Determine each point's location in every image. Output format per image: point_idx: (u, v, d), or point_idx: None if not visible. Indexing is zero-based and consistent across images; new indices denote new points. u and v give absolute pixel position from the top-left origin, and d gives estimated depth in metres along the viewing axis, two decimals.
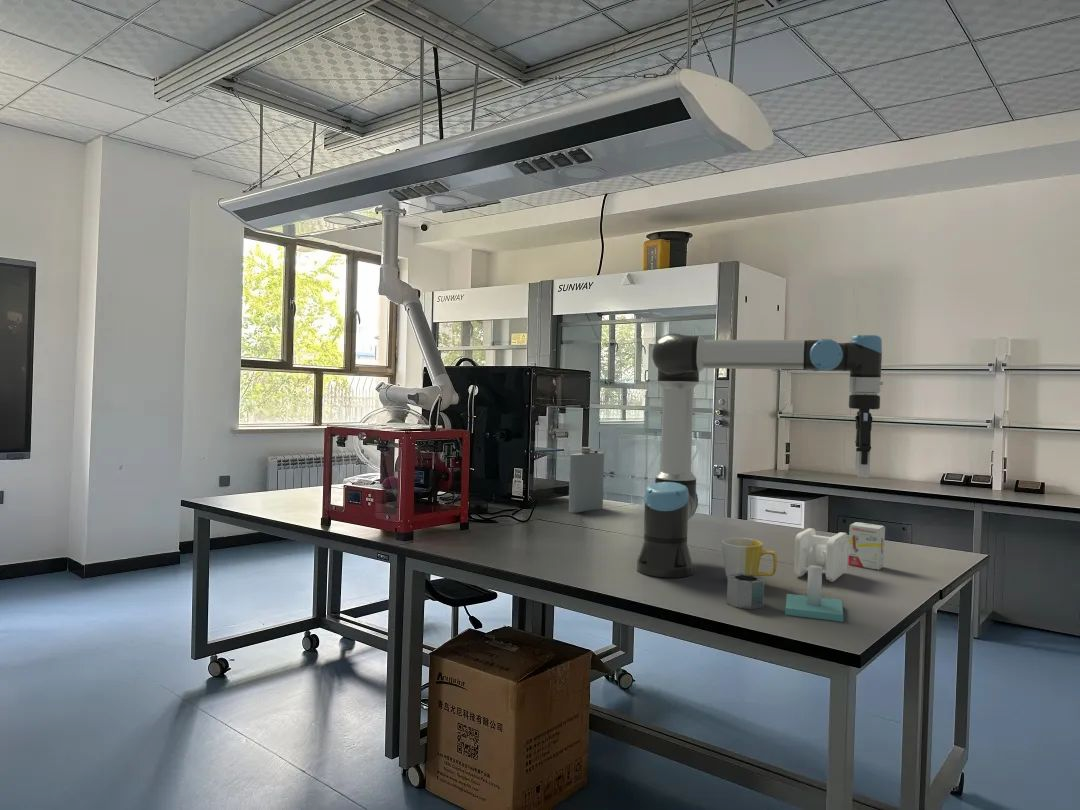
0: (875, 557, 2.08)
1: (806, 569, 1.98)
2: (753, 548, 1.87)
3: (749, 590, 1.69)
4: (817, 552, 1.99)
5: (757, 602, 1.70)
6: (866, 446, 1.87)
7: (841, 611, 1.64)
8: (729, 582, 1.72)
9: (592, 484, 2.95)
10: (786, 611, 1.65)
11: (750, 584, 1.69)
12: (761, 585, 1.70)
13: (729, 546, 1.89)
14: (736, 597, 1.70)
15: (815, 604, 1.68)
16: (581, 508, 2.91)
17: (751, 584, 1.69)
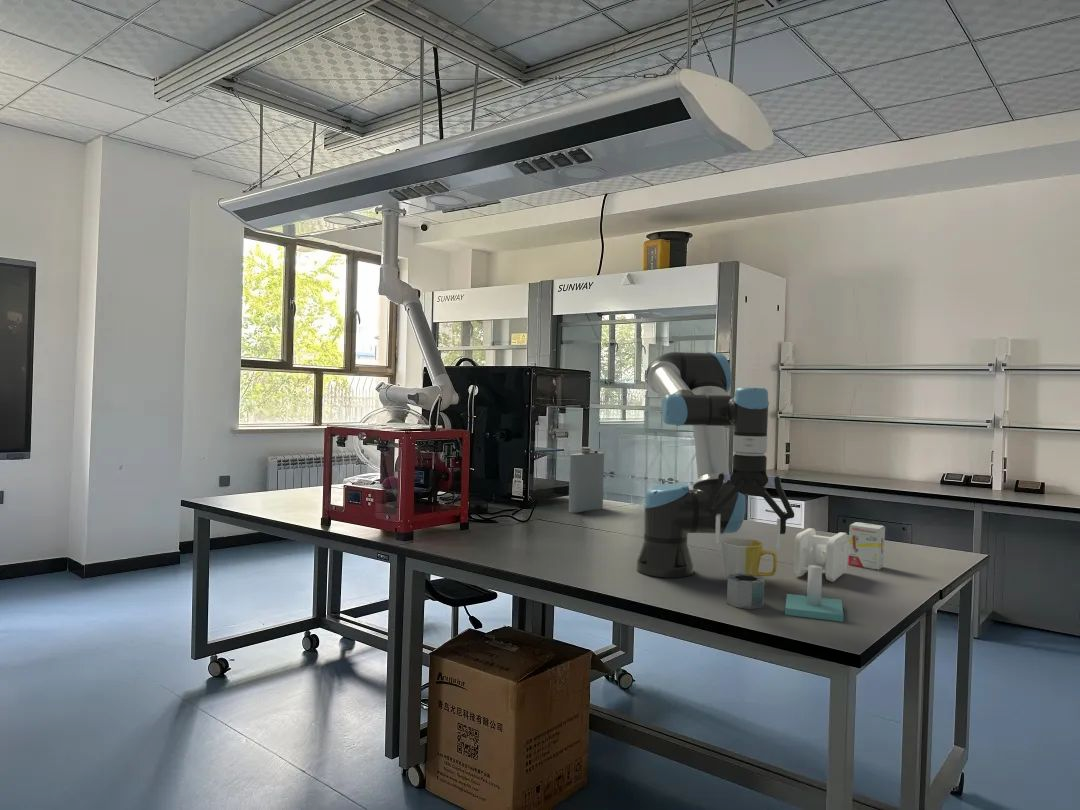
0: (875, 557, 2.08)
1: (806, 569, 1.98)
2: (753, 548, 1.87)
3: (749, 590, 1.69)
4: (817, 552, 1.99)
5: (757, 602, 1.70)
6: None
7: (841, 611, 1.64)
8: (729, 582, 1.72)
9: (592, 484, 2.95)
10: (786, 611, 1.65)
11: (750, 584, 1.69)
12: (761, 585, 1.70)
13: (729, 546, 1.89)
14: (736, 597, 1.70)
15: (815, 604, 1.68)
16: (581, 507, 2.91)
17: (751, 584, 1.69)
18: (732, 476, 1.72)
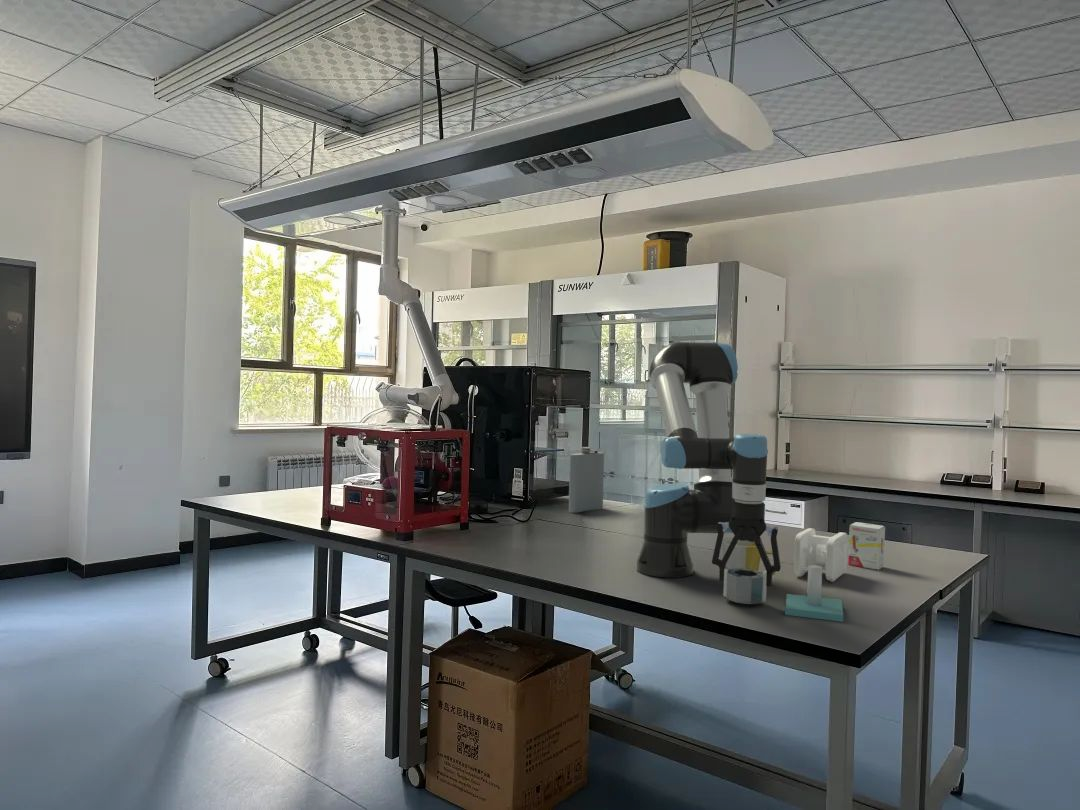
0: (875, 557, 2.08)
1: (806, 569, 1.98)
2: (753, 548, 1.87)
3: (748, 585, 1.69)
4: (817, 552, 1.99)
5: (756, 597, 1.70)
6: None
7: (841, 611, 1.64)
8: (729, 577, 1.73)
9: (592, 484, 2.95)
10: (786, 611, 1.65)
11: (750, 579, 1.69)
12: (760, 580, 1.70)
13: None
14: (735, 592, 1.71)
15: (815, 604, 1.68)
16: (581, 507, 2.91)
17: (751, 579, 1.69)
18: (730, 523, 1.73)
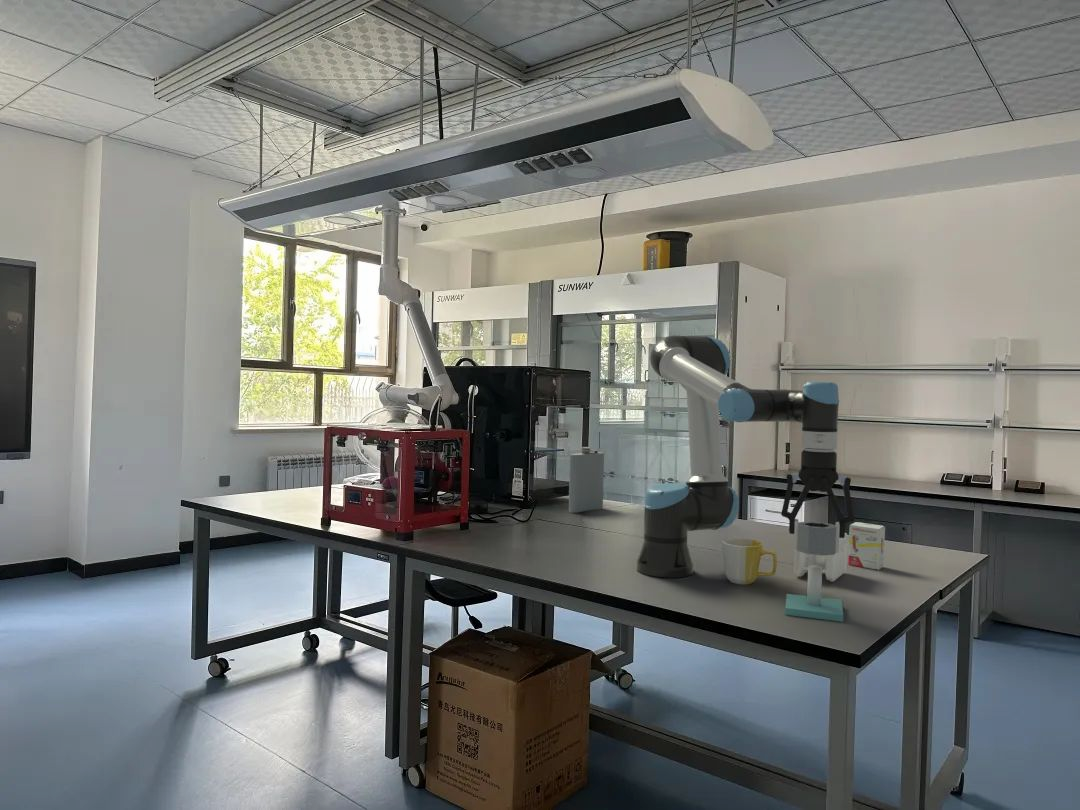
0: (875, 557, 2.08)
1: (806, 569, 1.98)
2: (753, 548, 1.87)
3: (822, 536, 1.64)
4: None
5: (830, 548, 1.65)
6: None
7: (841, 611, 1.64)
8: (800, 529, 1.67)
9: (592, 484, 2.95)
10: (786, 611, 1.65)
11: (823, 529, 1.64)
12: (834, 531, 1.65)
13: (729, 546, 1.89)
14: (808, 543, 1.65)
15: (815, 604, 1.68)
16: (581, 507, 2.91)
17: (824, 530, 1.64)
18: (800, 474, 1.68)
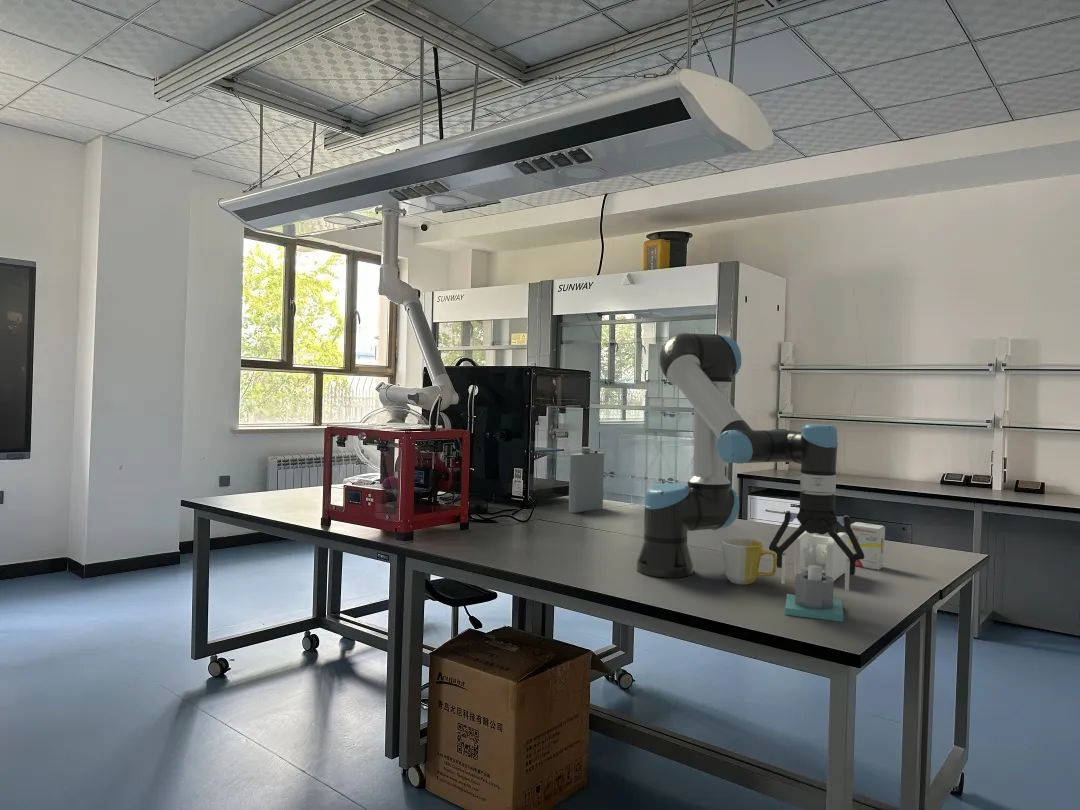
0: (875, 557, 2.08)
1: (806, 569, 1.98)
2: (753, 548, 1.87)
3: (819, 590, 1.65)
4: (817, 552, 1.99)
5: (827, 602, 1.65)
6: None
7: (841, 611, 1.64)
8: (797, 582, 1.68)
9: (592, 484, 2.95)
10: (786, 611, 1.65)
11: (820, 584, 1.65)
12: (831, 585, 1.66)
13: (729, 546, 1.89)
14: (806, 597, 1.66)
15: None
16: (581, 507, 2.91)
17: (822, 584, 1.65)
18: (799, 515, 1.69)
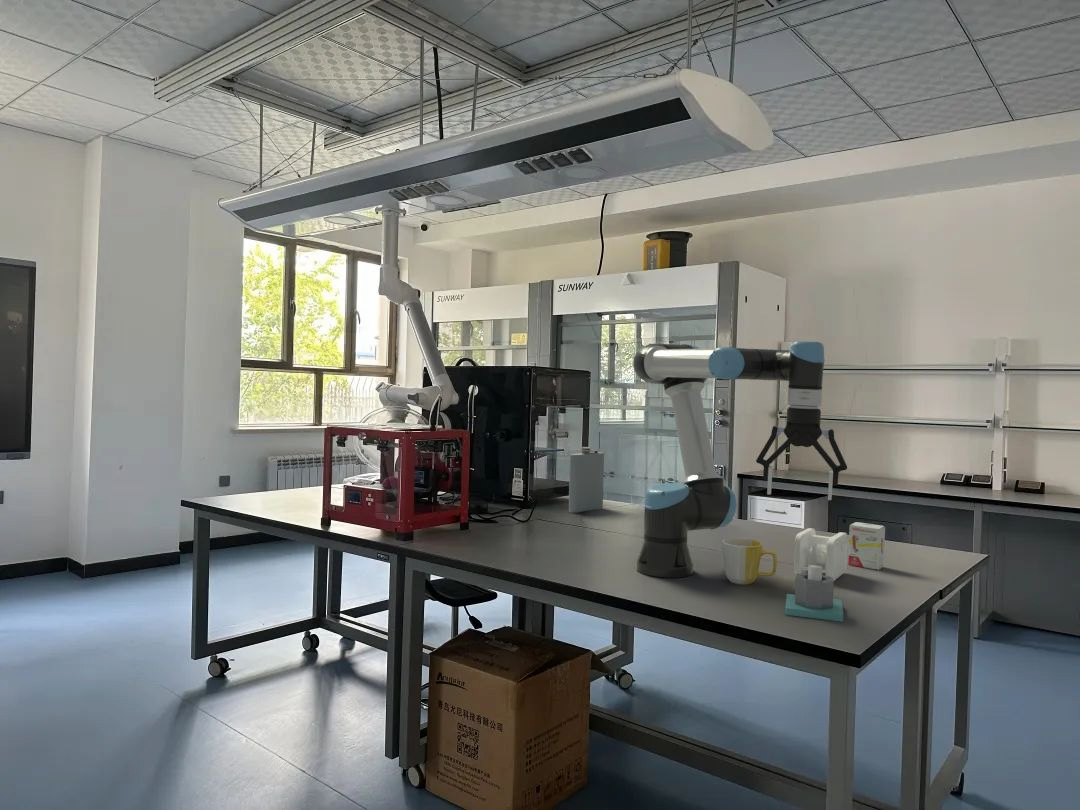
0: (875, 557, 2.08)
1: (806, 569, 1.98)
2: (753, 548, 1.87)
3: (819, 590, 1.65)
4: (817, 552, 1.99)
5: (827, 602, 1.65)
6: (757, 459, 1.79)
7: (841, 611, 1.64)
8: (797, 582, 1.68)
9: (592, 484, 2.95)
10: (786, 611, 1.65)
11: (820, 584, 1.65)
12: (831, 585, 1.66)
13: (729, 546, 1.89)
14: (806, 597, 1.66)
15: None
16: (581, 507, 2.91)
17: (822, 584, 1.65)
18: (786, 429, 1.76)
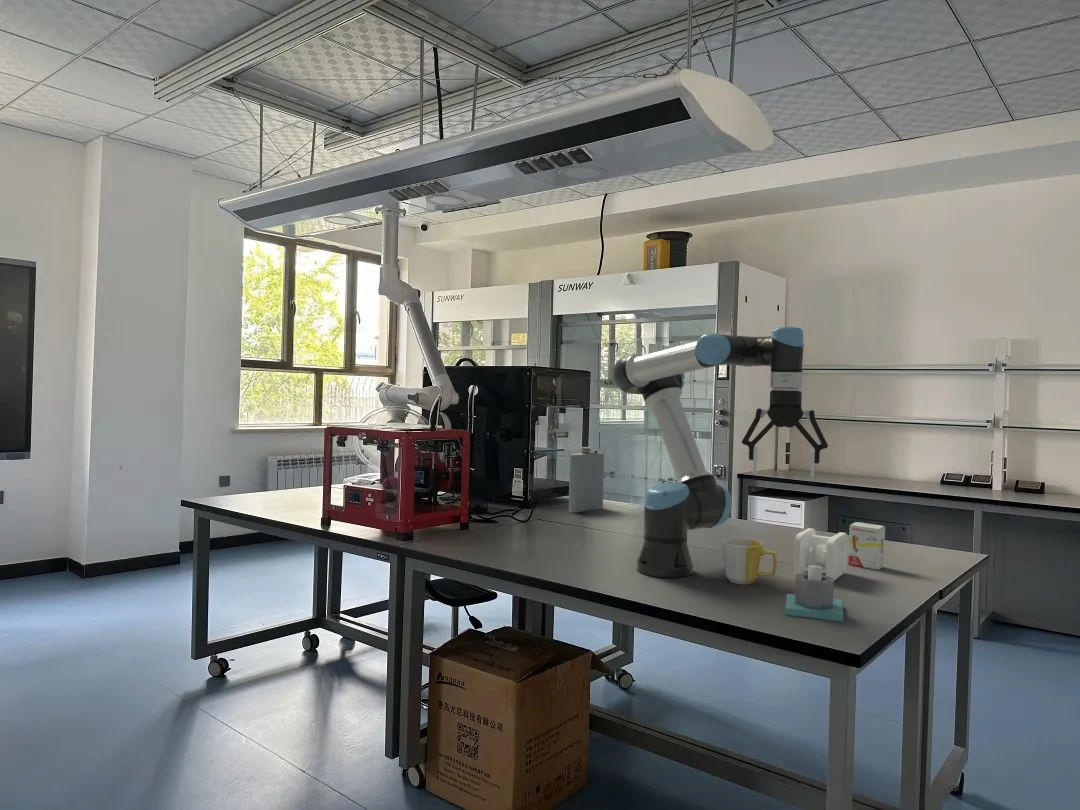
0: (875, 557, 2.08)
1: (806, 569, 1.98)
2: (753, 548, 1.87)
3: (819, 590, 1.65)
4: (817, 552, 1.99)
5: (827, 602, 1.65)
6: None
7: (841, 611, 1.64)
8: (797, 582, 1.68)
9: (592, 484, 2.95)
10: (786, 611, 1.65)
11: (820, 584, 1.65)
12: (831, 585, 1.66)
13: (729, 546, 1.89)
14: (806, 597, 1.66)
15: None
16: (581, 508, 2.91)
17: (822, 584, 1.65)
18: (769, 410, 1.85)
